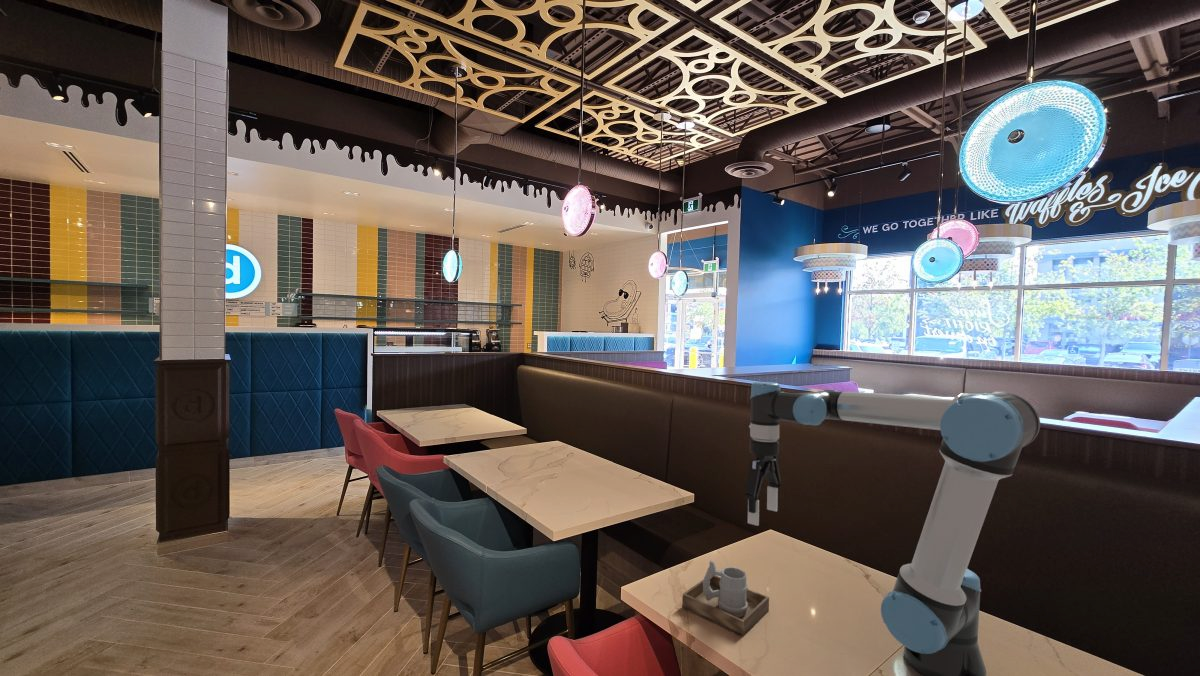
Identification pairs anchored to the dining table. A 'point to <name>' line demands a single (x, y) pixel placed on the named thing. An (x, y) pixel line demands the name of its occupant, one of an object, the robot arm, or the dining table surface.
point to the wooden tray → (711, 612)
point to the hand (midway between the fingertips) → (763, 517)
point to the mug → (728, 589)
